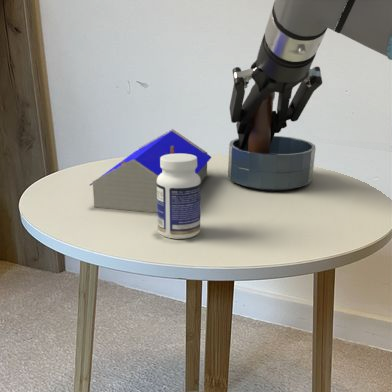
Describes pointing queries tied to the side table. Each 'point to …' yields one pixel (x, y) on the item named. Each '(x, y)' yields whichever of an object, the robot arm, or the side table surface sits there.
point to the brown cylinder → (262, 127)
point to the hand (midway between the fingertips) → (253, 141)
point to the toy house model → (143, 174)
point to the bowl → (272, 164)
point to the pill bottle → (178, 196)
